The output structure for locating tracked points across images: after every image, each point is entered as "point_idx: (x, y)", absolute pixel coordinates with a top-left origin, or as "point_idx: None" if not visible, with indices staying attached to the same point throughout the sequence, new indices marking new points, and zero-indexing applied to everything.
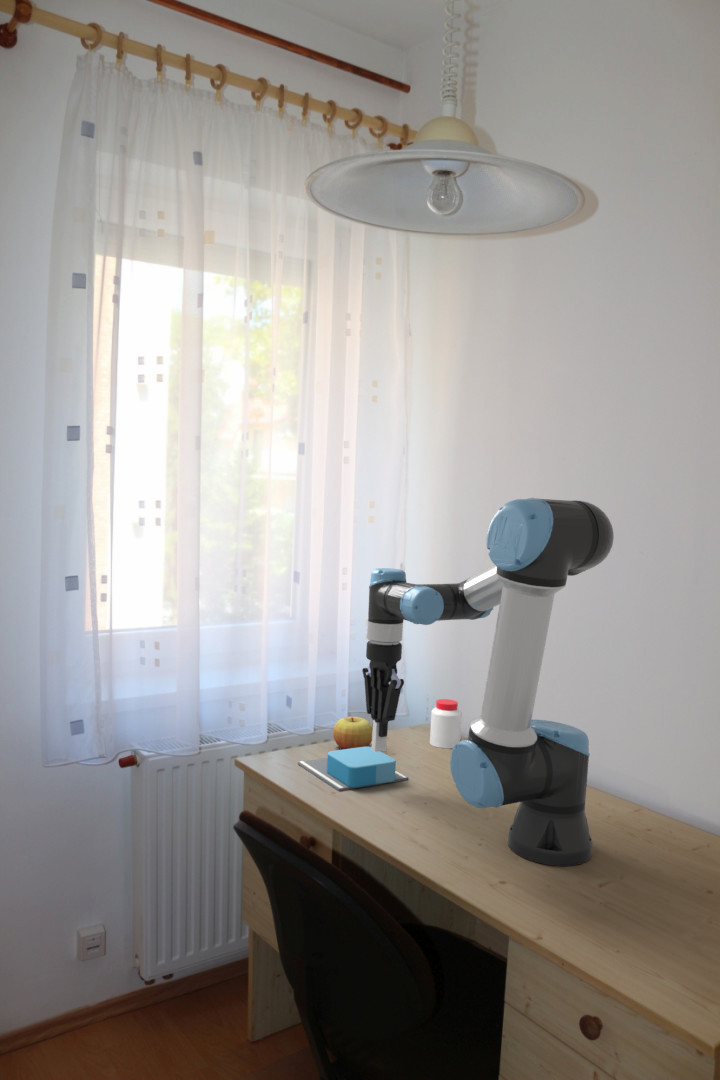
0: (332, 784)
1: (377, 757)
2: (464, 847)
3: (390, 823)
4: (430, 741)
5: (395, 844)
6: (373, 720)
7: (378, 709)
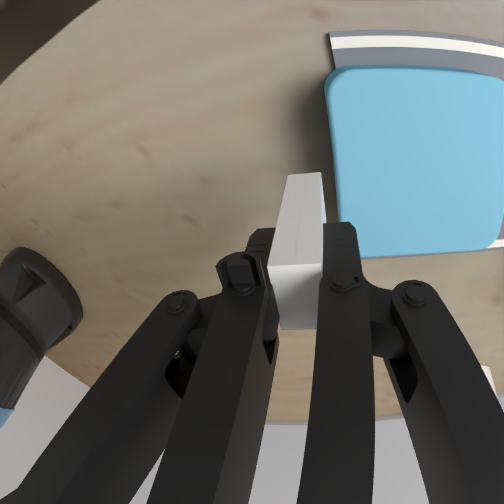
0: (372, 31)
1: (400, 216)
2: (23, 196)
3: (90, 102)
4: (483, 369)
5: (21, 93)
6: (314, 262)
7: (240, 348)
